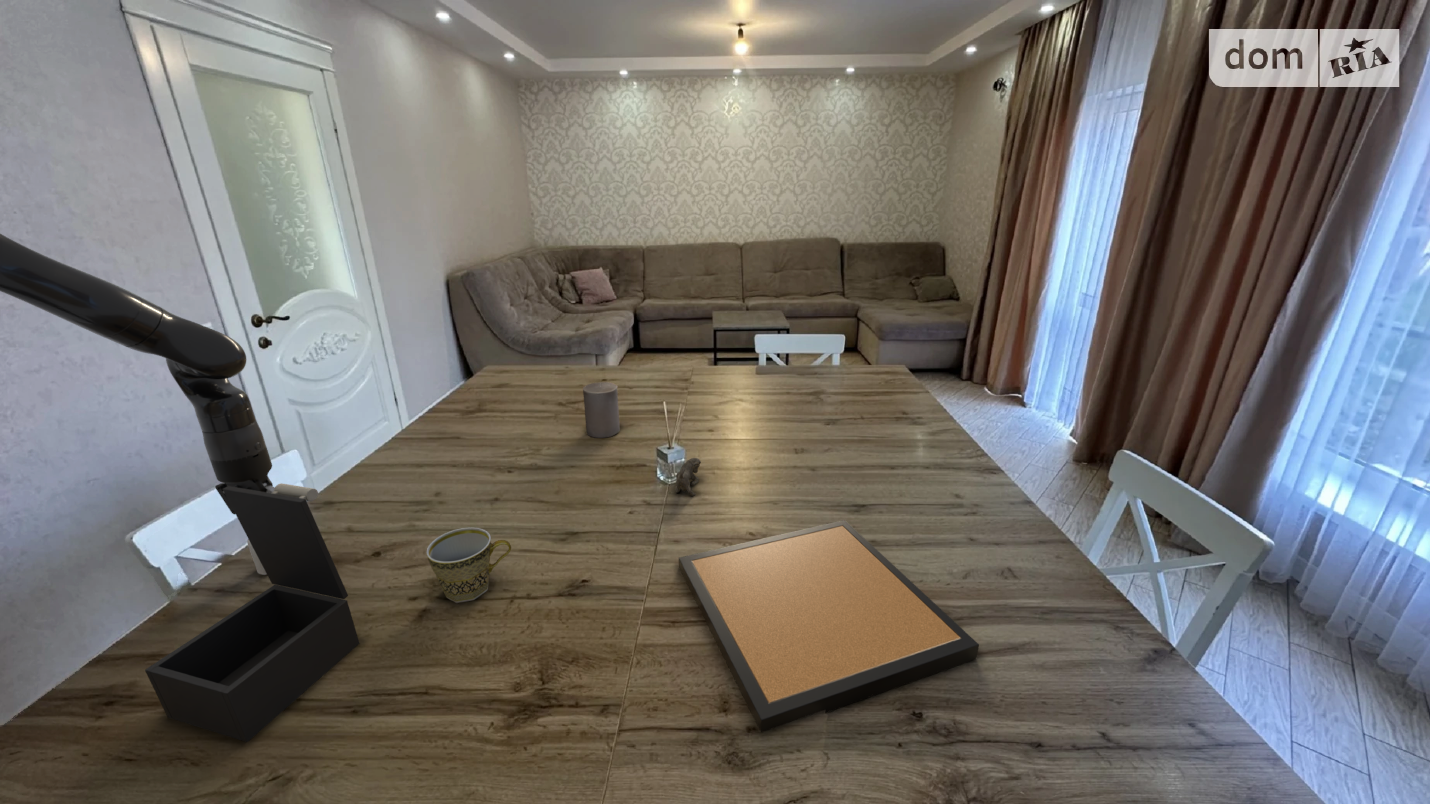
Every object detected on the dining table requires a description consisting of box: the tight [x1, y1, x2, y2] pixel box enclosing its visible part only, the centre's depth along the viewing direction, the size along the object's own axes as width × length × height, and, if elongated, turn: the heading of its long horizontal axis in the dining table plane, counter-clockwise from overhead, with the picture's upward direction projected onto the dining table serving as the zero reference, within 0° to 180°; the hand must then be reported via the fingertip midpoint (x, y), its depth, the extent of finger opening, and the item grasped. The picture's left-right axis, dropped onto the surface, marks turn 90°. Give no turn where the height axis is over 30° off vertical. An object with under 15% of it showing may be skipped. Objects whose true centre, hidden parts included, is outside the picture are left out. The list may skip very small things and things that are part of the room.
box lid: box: [223, 482, 349, 600], centre depth 81 cm, size 18×14×5 cm
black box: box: [144, 584, 360, 743], centre depth 77 cm, size 17×14×9 cm
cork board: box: [678, 519, 980, 733], centre depth 91 cm, size 36×3×35 cm
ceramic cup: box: [425, 526, 512, 604], centre depth 94 cm, size 13×10×10 cm
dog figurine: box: [675, 457, 702, 497], centre depth 129 cm, size 12×6×7 cm, turn 167°
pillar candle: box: [582, 381, 621, 439], centre depth 158 cm, size 10×10×15 cm
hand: (266, 535), depth 100 cm, fingers closed on eye dropper bottle, 3 cm apart
